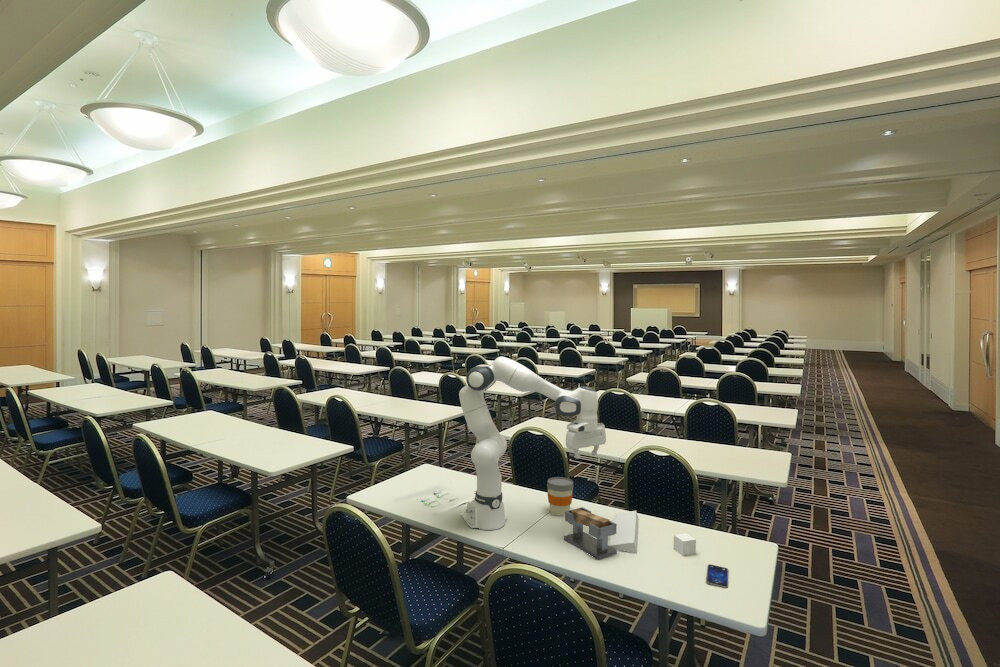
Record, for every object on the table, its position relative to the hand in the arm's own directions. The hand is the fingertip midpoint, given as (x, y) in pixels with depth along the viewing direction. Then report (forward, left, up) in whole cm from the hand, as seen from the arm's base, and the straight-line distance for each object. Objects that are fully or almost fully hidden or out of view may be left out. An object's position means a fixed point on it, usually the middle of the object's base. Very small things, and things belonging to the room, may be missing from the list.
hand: (585, 456), depth 220 cm
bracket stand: (+10, -6, -34) cm, 36 cm away
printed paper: (-69, -38, -35) cm, 86 cm away
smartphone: (+52, +18, -34) cm, 65 cm away
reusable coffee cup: (-24, +6, -34) cm, 42 cm away
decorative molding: (+9, +16, -35) cm, 39 cm away
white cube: (+33, +24, -34) cm, 53 cm away
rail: (+10, -6, -25) cm, 27 cm away
